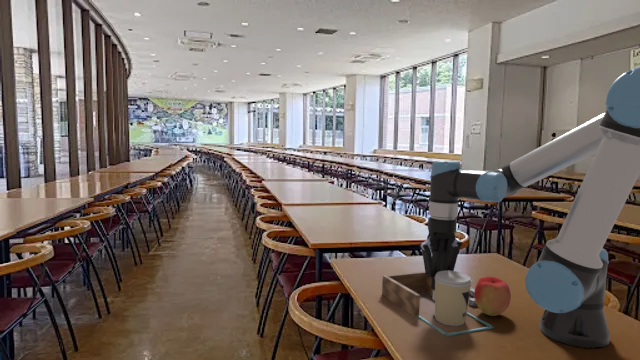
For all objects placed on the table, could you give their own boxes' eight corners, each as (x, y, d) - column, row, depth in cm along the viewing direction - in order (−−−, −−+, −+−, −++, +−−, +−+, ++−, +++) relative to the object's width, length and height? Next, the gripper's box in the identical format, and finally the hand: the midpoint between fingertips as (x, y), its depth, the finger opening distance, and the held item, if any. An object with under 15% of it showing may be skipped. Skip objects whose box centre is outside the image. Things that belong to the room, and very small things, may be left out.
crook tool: (492, 304, 130) (492, 299, 130) (472, 306, 128) (472, 300, 128) (456, 285, 148) (457, 279, 147) (438, 286, 146) (438, 281, 145)
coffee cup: (470, 329, 113) (473, 284, 111) (432, 324, 115) (435, 280, 113) (466, 314, 122) (469, 272, 120) (431, 310, 124) (434, 268, 122)
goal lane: (493, 328, 114) (493, 326, 114) (446, 336, 108) (446, 334, 108) (461, 310, 125) (461, 308, 125) (417, 316, 120) (417, 315, 120)
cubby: (463, 310, 126) (464, 289, 125) (415, 317, 120) (416, 295, 119) (425, 289, 142) (426, 271, 142) (381, 294, 136) (382, 275, 136)
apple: (465, 309, 126) (467, 275, 125) (492, 306, 129) (494, 272, 128) (489, 323, 117) (492, 286, 116) (517, 319, 120) (520, 283, 119)
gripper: (453, 213, 127) (448, 293, 129) (414, 215, 122) (410, 298, 124) (471, 218, 120) (465, 303, 122) (431, 220, 115) (426, 308, 117)
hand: (437, 300), depth 123 cm, fingers closed
